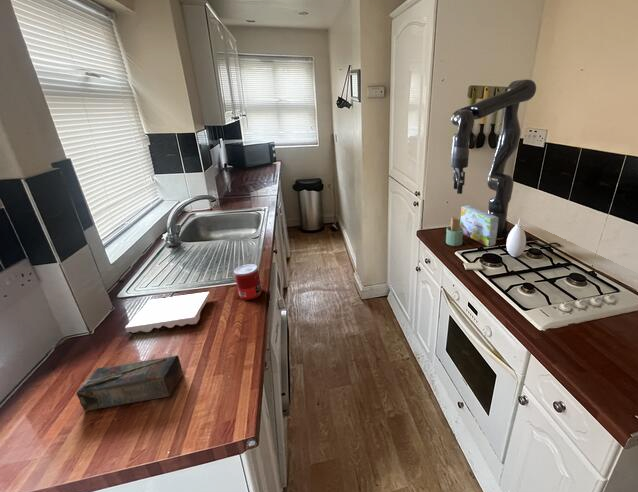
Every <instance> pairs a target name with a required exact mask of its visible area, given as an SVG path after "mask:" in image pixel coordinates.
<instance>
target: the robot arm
mask: <svg viewBox="0 0 638 492" xmlns="http://www.w3.org/2000/svg"><path fill="white" fill-rule="evenodd" d="M536 93H537V84H536V82H535V81H534V80H532V79H529V78H527V79H525V78H524V79H517V80H513V81H511V82H510V83H509V84H508V86H507V89H506V91H505V92H502V93H499V94H495V95H492V96H489V97H487V98H484V99H482V100H480V101H477V102H475V103H473V104H471V105H467V106H464V107H462V108H458V109H457V110H455V111H454V112H453V113H452V115H451V117H450V121H451V124H452V125H453V126H455V127H458V129H457V132H455V133H454V134H453V135H452V136H453V137H452V149H451V157H450V167H451V168H453V169H452V170H453V171H452V180H453V190H456V194H458V195H461V194H463V189H464V186H465V181H466V171H464V169H465V168H468V166H469V159H470V157H469V156H470V147H469V146H470V136H471V135H472V130H473V127H474V124H475V120H481V119H483V118H485V117H488V116H490V115H492V114H494V113H497V112H498V111H500V110H502V109H504V110H503V115H502V120H501V126H500V130H499V135H498V139H497V144H496V149H495V153H494V157H493V161H492V165H491V168H490V171H489V174H488V177H487V187H488V189H489V190H491V191H494V192H495V196H494V197H491V198H489V199H488V205H487V213H489V214H491V215H494V216H496V217H498V227H497V236H496V241H501V240H507V236H508V235H509V233H510V231H511V230H512V229H510V228H509V226H508V223H509V222H508V220H507V218H508V212H509V211H508V210H509V205H510V202H511V199H512V196H513V195H512V194H513V191H514V190H513V189H514V178H513V177H512V175H509V174H506V173H505V169H506V165H507V163H508V161H509V159H510V158H511V157H512V156H513V155H514V153H515V152H516V150H517V149H518V147H519V143H520V139H521V134H522V130H521V124H520V121H519V108H520V104H521V103H523V102H527V101H530V100H531V99H533V98H534V96H535V95H536ZM526 240H533V241H534V243H535V244H536V245H537V246H540V247H548V246H553V245H556V246H558V247H562V245H561V244H560V243H559V242H549V243H545V244H544V243H539V242H538V241H537V239H536V238H534V237H531V236H526ZM558 243H559V244H558Z"/></svg>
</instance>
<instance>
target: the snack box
mask: <svg viewBox="0 0 638 492" xmlns="http://www.w3.org/2000/svg"><path fill="white" fill-rule="evenodd" d="M460 227H462V228H463V229H464V231H463V235H464V236H466V237H468V238H470V239H472V240H474V241H476V242H478V243H480V244H482V245H483V246H485V247H488V248H489V247H493V246H496V244H497V240H496V236H497V227H498V217H496V216H494V215H491V214H489V213H488V212H486V211H484V210H481V209H478V208H476V207H474V206H471V205H463V206H461V208H460Z"/></svg>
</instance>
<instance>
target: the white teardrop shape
mask: <svg viewBox="0 0 638 492" xmlns="http://www.w3.org/2000/svg"><path fill="white" fill-rule="evenodd" d="M520 221H521V219H520V218H519V219H518V223H516V224H515V225H514V226H513V227H512V228H511V229H510V230H511V231H510V233H509V235H507V237H506V250H507V253H508V254H509V255H510V257H513V258H517V257H518V258H519V256H521V255H523V253H524V251H525V249H526V245H527V239H526V238H527V236H526V232H525V230H524V228H523V225H522V224H521V223H520Z"/></svg>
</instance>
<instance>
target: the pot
mask: <svg viewBox="0 0 638 492" xmlns="http://www.w3.org/2000/svg"><path fill="white" fill-rule="evenodd" d="M445 230H446V233H445V243H446V244H447V245H448V246H451V247H459V246H461V245H463V243H464V242H463V241H464V234H463V231H464V229H463V228H462V227H460V229H459V231H458V232H454V231H450V230H451V225H449V226H447V227H446V228H445Z"/></svg>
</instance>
